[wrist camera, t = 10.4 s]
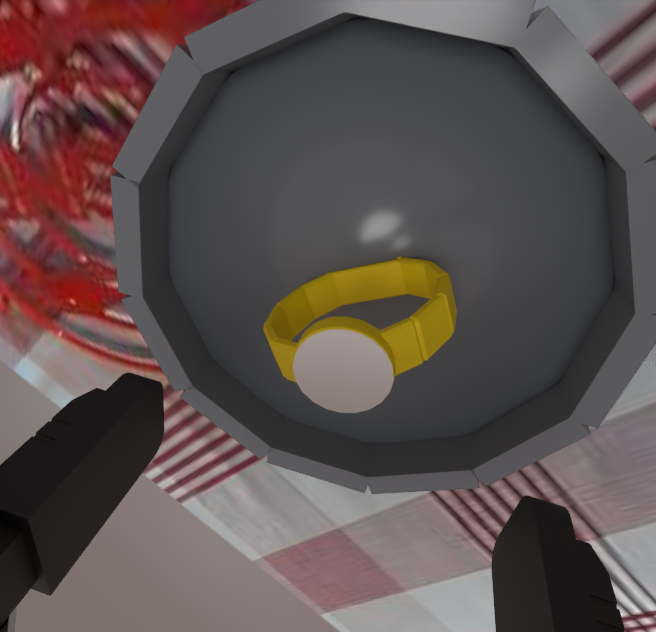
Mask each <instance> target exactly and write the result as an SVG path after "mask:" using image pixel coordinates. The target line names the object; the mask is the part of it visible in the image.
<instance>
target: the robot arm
mask: <svg viewBox="0 0 656 632" xmlns="http://www.w3.org/2000/svg"><path fill="white" fill-rule="evenodd" d="M163 435H164V407H163V386H162V384H161V383H160V382H158V381H155V380H152V379H149V378H145V377H142V376H139V375H136V374H132V373H125V374H123V375H122V376H121V377H119V378H118V379H117V380H116V381H115V382H114V383H113V384H112V385H111V386H110V387H109V388H108V389H107V390H106V391H105V390H101V389H98V388H96V389H94V390H92V391H90V392H88V393H86V394H84V395H82V396H80V397H78V398H76V399H74V400H72V401H71V402H69V403H68V404H67V405H66V406H65V407H64V408H63V409H62V410H61V411H60V412H58V413H57V414H56V415H55V416H54V417H53V418H52V421H51V422H47V423H46V424H45V425H44V426H43V427H42V428H41V429H40V430H39V431H37V433H36V435H35V436H34V437H31V438H30V439H29V440H28V441H27V442H25V443H24V444H23V445H22V446H21V447H20V448H19V449H18V450H17V451H15V452H14V453H13V454H12V455H11V456H10V457H9V458H8V459H7V460H5V461H4V462H3V463H2V464H1V465H0V632H14V631H15V622H16V606H17V605H18V604H19V603H20V601H21V600H22V599H23V598H24V596H25V595H26V594H27V593H28V591H29V590H30V589H34V590H36V591H39V592H42V593H44V594H47V595H51V594H52V593H53V592H54V590H55V589H56V588H57V586H58V585H59V583H60V582H61V581H62V580H63V578H64V577H65V576H66V574H67V573H68V572H69V570H70V569H71V567H72V566H73V565H74V563H75V562H76V561H77V560H78V558H79V557H80V556H81V554H82V553H83V551H84V550H85V549H86V547H87V546H88V545H89V543H90V542H91V541H92V539H93V538H94V536H95V535H96V534H97V533H98V531H99V530H100V528H101V527H102V526H103V525H104V523H105V522H106V521H107V519H108V518H109V517H110V515H111V514H112V513H113V511H114V510H115V509H116V507H117V506H118V505H119V503H120V502H121V501H122V499H123V498H124V496H125V495H126V494H127V492H128V491H129V490H130V488H131V487H132V486H133V484H134V483H135V482H136V480H137V479H138V478H139V476H140V475H141V474H142V472H143V471H144V470H145V468H146V467H147V466H148V464H149V463H150V462H151V460H152V459H153V458H154V456H155V455H156V453H157V451H158V449H159V447H160V445H161V442H162V439H163ZM492 579H493V594H494V609H495V624H496V632H624V630H625V628H624V625H623V622H622V618H621V615H620V611H619V609H617V607H616V605H617V601H616V598H615V594H614V591H613V587H612V584H611V580H610V577H609V573H608V572H607V570H606V568H605V567H604V565H603V564H602V562H601V561H600V559H599V557H598V556H597V554H596V553H595V551H594V550H593V548H592V546H591V545H590V544H589V543H586V542H583V541H579V540H576V537H575V533H574V529H573V525H572V521H571V517H570V514H569V512H568V510H567V509H566V508H565V507H563V506H560V505H556V504H553V503H550V502H546V501H543V500H540V499H537V498H533V497H530V496H524V497H523V498H522V499H521V500H520V502H519V504H518V505H517V507H516V508H515V510H514V512H513V513H512V515H511V517H510V518H509V520H508V521H507V523H506V525H505V526H504V528H503V530H502V531H501V533H500V534H499V536H498V538H497V540H496V543H495V546H494V550H493V556H492Z"/></svg>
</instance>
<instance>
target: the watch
mask: <svg viewBox="0 0 656 632" xmlns="http://www.w3.org/2000/svg"><path fill="white" fill-rule="evenodd" d="M405 294H410V295H414V296H419V297H423V298H427V299H430V300H429V301H428V302H427V303H425V304H424V305H423V306H422V307H421V308H420V309H418V310H417V311H416V312H415V313H414V314H413V315H411V316H410V317H409V319H408V318H407V319H405V320H402V321H400V322H398V323H395V324H393V325H391V326H389V327H386V328H384V329H382V330H378V329H377V328H376V327H374V326H372V325H370V324H369V323H367V322H365V321H363V320H360V319H356V318H352V317H347V316H342V317H329V318H326V319H323V320H320V321H317V322H316V323H314V324H313V325H312V326H310V327H309V328H308V329H307V330H305V332H304V333H303V335H302V336H301V338H300V340H299V341H298V343H295V342H292V340H293V338H294V337H295V336H296V335H297V334H298V333H300V332H301V331H302V330H303V329H304V328H305V327H306V326H307V325H309V324H310V323H311V322H312V321H313V320H314V319H317V318H319V317H320V316H322V315H324V314H326V313H328V312H330V311H332V310H334V309H336V308H338V307H340V306H342V305H347V304H353V303H358V302H364V301H370V300H376V299H382V298H388V297H394V296H400V295H405ZM456 315H457V309H456V304H455V300H454V295H453V290H452V285H451V280H450V277H449V274H448V273H446V272H445V271H444V270H443V269H441V268H440V267H439V266H438V265H436V264H435V263H433V262H430V261H428V260H421V259H413V258H406V257H403V258H402V256H401V257H397V259H395V260H390V261H385V262H380V263H375V264H370V265H365V266H360V267H355V268H350V269H345V270H340V271H335V272H328V273H326V274H324V275H322V276H320V277H318V278H316V279H314V280H311V281H309V282H307V283H305V284H303V285H301V287H298V288H296V289H295V290H294V291H292V292H291V293H290V294H289V295H287V296H286V297H285V298H283V299H282V300H281V301H280V302H278V303H277V304H276V306H274V308H273V310H272V311H271V313H270V315H269V317H268V319H267V320H266V322H265V324H264V328H263V330H264V333H265V335H266V337H267V340H268V342H269V345H270V347H271V349H272V352H273V354H274V357H275V359H276V361H277V363H278V366H279V368H280V370H281V372H282V374H283V377H286V379H288V380H291V381H293V382H296V383H297V384H298V386H299V387H300V389H301V390H302V392H303V393H304V394H305V395H306V396H307V397H308V398H309V399H311V400H312V401H313V402H314V403H316V404H318V405H320V406H322V407H324V408H325V409H328V410H332V411H336V412H340V413H358V412H362V411H366V410H370V409H371V408H373V407H375V406H376V405H378V404H380V403H381V402H382V401H383V400H384V399H385V398H386V396H387V395H388V394H389V393H390V390H391V388H392V385H393V382H394V378H395V376H396V375H399V374H401V373H403V372H405V371H407V370H409V369H412V368H414V367H416V366H418V365H420V364H422V363H423V361H424V360H425V361H427V360H428V359H429V358H430V357H431V356H432V355H433V354H434V353H435V352H436V351H437V350H438V349H439V348H440V347H441V346H442V345H443V344H444V343H445V342H446V341H447V340H448V339H449V338H450V337H451V336H452V334H453V333H454V329H455V322H456Z"/></svg>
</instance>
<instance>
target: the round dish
mask: <svg viewBox="0 0 656 632" xmlns="http://www.w3.org/2000/svg"><path fill="white" fill-rule="evenodd" d="M535 2H536V0H259V1H257V2H255V3H253V4H251V5H249V6H247V7H245V8H243V9H241V10H239V11H237V12H235V13H233V14H231V15H229V16H227V17H225V18H222V19H220V20H218V21H216V22H214V23H212V24H210V25H208V26H206V27H204V28H202V29H200V30H198V31H196V32H194V33H192V34H190V35H188V36H185V37H184V38H185V41H186V43H187V45H176V47H175V49H174V50H173V52H172V54H171V56H170V58H169V60H168V62H167V64H166V66H165V67H164V69H163V71H162V73H161V75H160V77H159V79H158V81H157V82H156V84H155V86H154V88H153V90H152V92H151V94H150V96H149V98H148V99H147V101H146V103H145V105H144V107H143V109H142V111H141V113H140V115H139V116H138V118H137V120H136V122H135V124H134V126H133V128H132V130H131V131H130V133H129V135H128V137H127V139H126V141H125V143H124V145H123V147H122V148H121V150H120V152H119V154H118V156H117V158H116V160H115V162H114V164H113V165H112V167H113V168H115V169H116V170H117V171H118V172H117V173H114V174H112V175H110V177H111V191H112V206H113V220H114V234H115V249H116V263H117V277H118V292H120V293H124V294H127V295H126V296H125V297H123V298H122V299H121V300H122V302H123V304H124V305H125V307H126V309H127V311H128V312H129V314H130V316H131V317H132V319H133V321H134V323H135V324H136V326H137V328H138V329H139V331H140V333H141V335H142V336H143V338H144V340H145V341H146V343H147V345H148V347H149V348H150V350H151V352H152V353H153V355H154V357H155V359H156V360H157V362H158V364H159V365H160V367H161V369H162V371H163V372H164V374H165V376H166V377H167V379H168V381H169V383H170V384H171V386H172V388H173V389H174V391H181V390H184V392H183V393H182V394H181V396H180V398H182V399H183V400H184V401H186V402H187V403H188V404H189V405H191V406H192V407H193V408H195V409H196V410H197V411H199V412H200V413H201V414H202V415H204V416H205V417H206V418H208V419H209V420H210V421H212V422H213V423H214V424H215V425H217V426H218V427H219V428H221V429H222V430H223V431H225V432H226V433H227V434H228V435H230V436H231V437H232V438H234V439H235V440H236V441H238V442H239V443H240V444H241V445H243V446H244V447H245V448H247V449H248V450H249V451H251V452H252V453H253V454H254V455H256V456H257V457H258V458H260V459H261V458H263V457H264V456H265V455H267V454H268V458H267V463H270V464H273V465H277V466H280V467H283V468H286V469H289V470H293V471H296V472H299V473H302V474H305V475H309V476H312V477H315V478H318V479H321V480H325V481H328V482H331V483H334V484H337V485H341V486H344V487H347V488H350V489H353V490H357V491H360V492H363V493H365V491H366V488H367V485H368V486H369V488H370V491H371V493H372V494H381V493H399V492H417V491H434V490H452V489H470V488H479V480H480V481H481V482H482V483H484V484H485V485H486V486H488V485H490V484H492V483H494V482H496V481H498V480H500V479H502V478H504V477H506V476H508V475H510V474H512V473H514V472H516V471H518V470H520V469H522V468H524V467H526V466H528V465H530V464H532V463H534V462H536V461H538V460H540V459H542V458H544V457H546V456H548V455H550V454H552V453H554V452H556V451H558V450H560V449H562V448H564V447H566V446H568V445H570V444H572V443H574V442H576V441H578V440H580V439H582V438H584V437H586V436H588V435H590V434H591V432H590V430H589V427H588V426H591V427H595V428H598V427H599V426H600V424H601V423H602V421H603V420H604V418H605V417H606V415H607V414H608V413H609V411H610V410H611V408H612V407H613V405H614V404H615V402H616V401H617V399H618V398H619V397H620V395H621V394H622V392H623V391H624V389H625V388H626V386H627V385H628V383H629V382H630V380H631V379H632V378H633V376H634V375H635V373H636V372H637V370H638V369H639V367H640V366H641V364H642V363H643V362H644V360H645V359H646V357H647V356H648V354H649V353H650V351H651V350H652V348H653V347H654V345H655V344H656V131H655V130H654V129H653V128H652V127H651V125H650V124H649V123H648V122H647V121H646V120H645V118H644V117H643V116H642V115H641V114H640V113H639V111H638V110H637V109H636V108H635V107H634V106H633V104H632V103H631V102H630V101H629V100H628V99H627V97H626V96H625V95H624V94H623V93H622V92H621V90H620V89H619V88H618V87H617V86H616V85H615V83H614V82H613V81H612V80H611V79H610V78H609V76H608V75H607V74H606V73H605V72H604V71H603V69H602V68H601V67H600V66H599V65H598V64H597V62H596V61H595V60H594V59H593V58H592V57H591V55H590V54H589V53H588V52H587V51H586V50H585V48H584V47H583V46H582V45H581V44H580V43H579V41H578V40H577V39H576V38H575V37H574V36H573V34H572V33H571V32H570V31H569V30H568V29H567V27H566V26H565V25H564V24H563V23H562V22H561V20H560V19H559V18H558V17H557V16H556V15H555V13H554V12H553V11H552V10H551V9H550V8H549V6H547V7H545V8H542V9H540V10H538V11H536V12H533V13H532V10H533V7H534V5H535ZM359 18H363V19H368V20H357V19H359ZM495 46H496V47H495ZM497 47H501V48H504V49H505V50H506V51H507V52H508V53H509V54H510V55H509V54H508V53H507V52H505V51H503V50H501V49H499V48H497ZM401 256H402V258H403V257H406V258H413V259H421V260H428V261H430V262H433V263H435V264H436V265H438V266H439V267H440V268H441V269H443V270H444V271H445V272H446V273H448V274H449V277H450V280H451V285H452V290H453V295H454V300H455V304H456V309H457V315H456V322H455V329H454V333H453V334H452V336H451V337H450V338H449V339H448V340H447V341H446V342H445V343H444V344H443V345H442V346H441V347H440V348H439V349H438V350H437V351H436V352H435V353H434V354H433V355H432V356H431V357H430V358H429V359H428V360H427V361H425V360H424V361H423V363H422V364H420V365H418V366H416V367H414V368H412V369H409V370H407V371H405V372H403V373H401V374H399V375H396V376H395V378H394V382H393V385H392V388H391V390H390V393H389V394H388V395H387V396H386V398H385V399H384V400H383V401H382V402H381V403H380V404H378V405H376V406H375V407H373V408H371V409H370V410H366V411H362V412H358V413H340V412H336V411H332V410H328V409H325V408H324V407H322V406H320V405H318V404H316V403H314V402H313V401H312V400H311V399H309V398H308V397H307V396H306V395H305V394H304V393H303V392H302V390H301V389H300V387H299V386H298V384H297V383H296V382H293V381H291V380H288V379H286V377H283V374H282V372H281V370H280V368H279V366H278V363H277V361H276V359H275V357H274V354H273V352H272V349H271V347H270V345H269V342H268V340H267V337H266V335H265V333H264V330H263V328H264V324H265V322H266V320H267V319H268V317H269V315H270V313H271V311H272V310H273V308H274V306H276V304H277V303H278V302H280V301H281V300H282V299H283V298H285V297H286V296H287V295H289V294H290V293H291V292H292V291H294V290H295V289H296V288H298V287H301V285H303V284H305V283H307V282H309V281H311V280H314V279H316V278H318V277H320V276H322V275H324V274H326V273H328V272H335V271H340V270H345V269H350V268H355V267H360V266H365V265H370V264H375V263H380V262H385V261H390V260H395V259H397V257H401ZM429 300H430V299H427V298H423V297H419V296H414V295H410V294H405V295H400V296H394V297H388V298H382V299H376V300H370V301H364V302H358V303H353V304H347V305H342V306H340V307H338V308H336V309H334V310H332V311H330V312H328V313H326V314H324V315H322V316H320V317H319V318H317V319H314V320H313V321H312V322H311V323H310V324H309V325H307V326H306V327H305V328H304V329H303V330H302V331H301V332H300V333H298V334H297V335H296V336H295V337H294V338H293V340H292V342H295V343H298V341H299V340H300V338H301V336H302V335H303V333H304V332H305V330H307V329H308V328H309V327H310V326H312V325H313V324H314V323H316V322H317V321H320V320H323V319H326V318H329V317H342V316H347V317H352V318H356V319H360V320H363V321H365V322H367V323H369V324H370V325H372V326H374V327H376V328H377V329H378V330H382V329H384V328H386V327H389V326H391V325H393V324H395V323H398V322H400V321H402V320H405V319H407V318H408V319H409V317H410V316H411V315H413V314H414V313H415V312H416V311H417V310H418V309H420V308H421V307H422V306H423V305H424V304H425V303H427V302H428V301H429Z"/></svg>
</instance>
